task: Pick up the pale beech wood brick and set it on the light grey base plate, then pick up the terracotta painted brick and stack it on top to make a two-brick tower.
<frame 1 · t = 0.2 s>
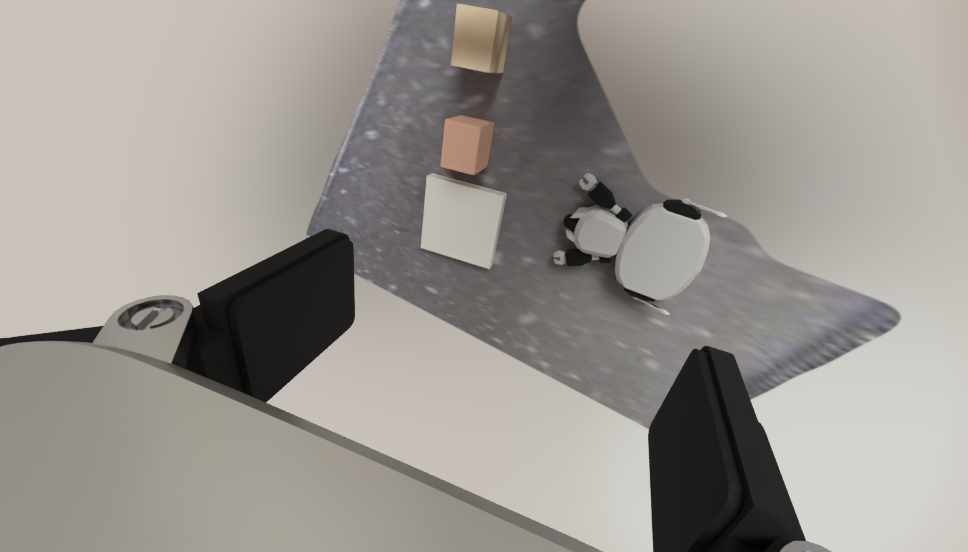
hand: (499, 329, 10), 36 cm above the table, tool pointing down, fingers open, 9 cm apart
robot toy: (629, 233, 44), on the table
clay brick: (475, 141, 45), on the table
beech brick: (489, 42, 40), on the table
base plate: (463, 220, 50), on the table
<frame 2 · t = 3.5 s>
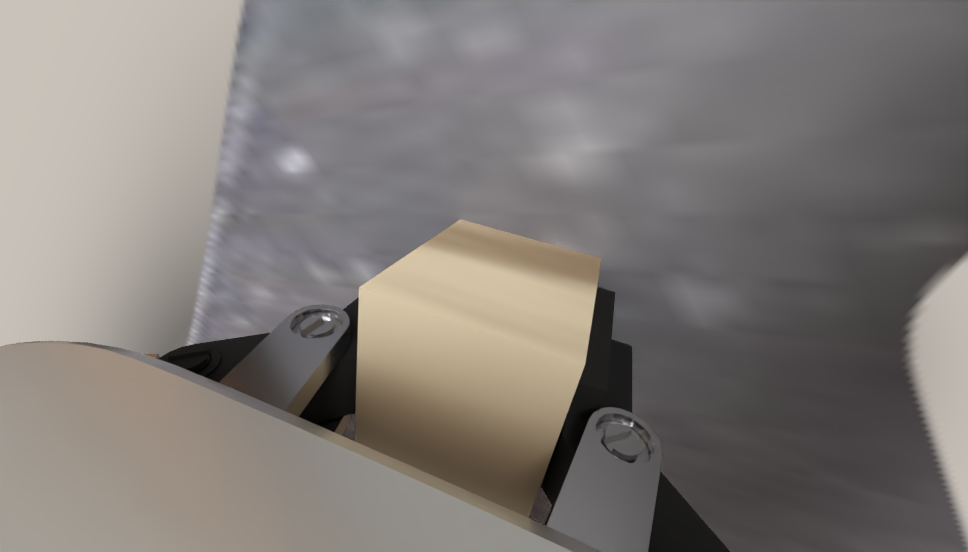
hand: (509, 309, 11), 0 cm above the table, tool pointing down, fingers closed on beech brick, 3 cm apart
beech brick: (509, 314, 12), on the table, touching gripper
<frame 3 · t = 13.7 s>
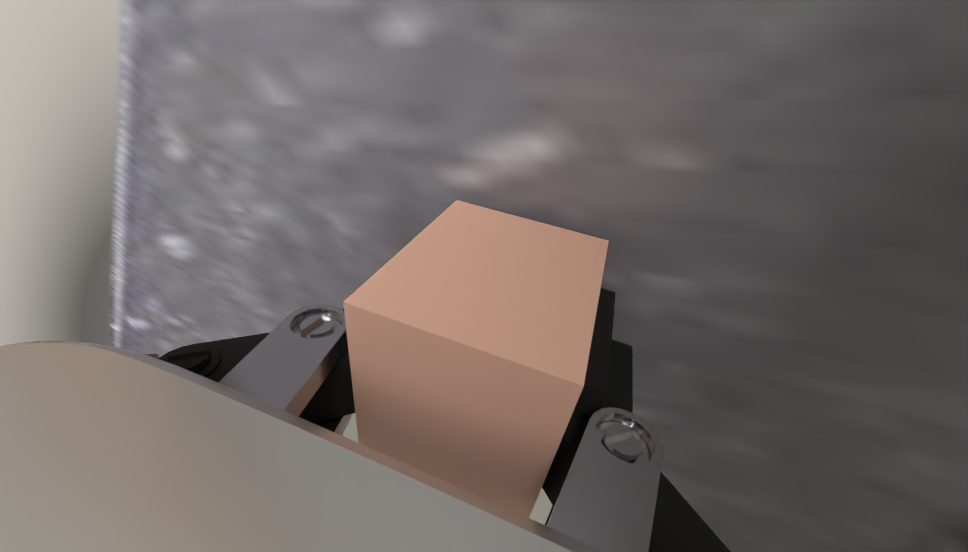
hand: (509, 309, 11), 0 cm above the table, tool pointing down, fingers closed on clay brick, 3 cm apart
clay brick: (513, 296, 11), on the table, touching gripper
base plate: (467, 496, 16), on the table
when the fingers open (8 cm above the table, at t = 18.0 s): clay brick drops 1 cm, resting on beech brick.
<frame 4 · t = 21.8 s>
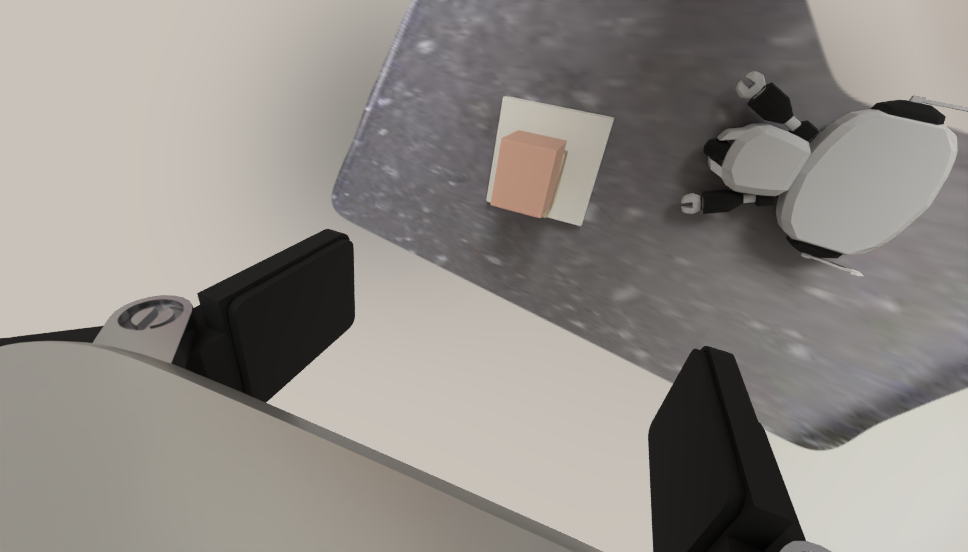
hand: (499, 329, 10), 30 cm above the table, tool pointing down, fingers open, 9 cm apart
robot toy: (794, 165, 32), on the table
clay brick: (535, 166, 32), point 6 cm above the table, touching beech brick
base plate: (546, 161, 38), on the table
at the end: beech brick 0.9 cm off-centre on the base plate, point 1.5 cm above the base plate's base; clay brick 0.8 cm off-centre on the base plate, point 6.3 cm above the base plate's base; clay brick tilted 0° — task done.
